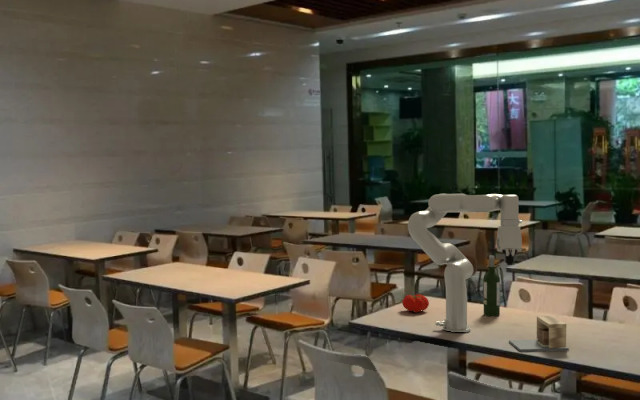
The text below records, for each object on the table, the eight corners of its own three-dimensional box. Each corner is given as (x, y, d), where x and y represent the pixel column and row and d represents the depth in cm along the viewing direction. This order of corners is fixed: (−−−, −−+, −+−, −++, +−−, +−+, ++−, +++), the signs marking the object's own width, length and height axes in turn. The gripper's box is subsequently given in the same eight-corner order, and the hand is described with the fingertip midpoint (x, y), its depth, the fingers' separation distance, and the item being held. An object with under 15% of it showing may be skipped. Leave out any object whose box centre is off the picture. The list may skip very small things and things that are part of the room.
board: (520, 351, 271) (520, 342, 271) (508, 342, 286) (508, 333, 285) (568, 350, 272) (568, 341, 272) (554, 341, 286) (554, 332, 286)
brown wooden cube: (543, 345, 276) (543, 332, 275) (537, 341, 282) (537, 328, 282) (558, 344, 276) (558, 331, 276) (552, 340, 282) (552, 327, 282)
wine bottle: (482, 312, 342) (482, 254, 340) (498, 313, 341) (498, 254, 339) (484, 316, 334) (484, 256, 333) (500, 316, 333) (500, 257, 331)
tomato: (401, 314, 341) (401, 297, 341) (402, 309, 354) (402, 292, 353) (428, 315, 339) (428, 297, 339) (429, 309, 351) (429, 293, 351)
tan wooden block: (549, 347, 272) (549, 324, 271) (536, 338, 286) (536, 316, 285) (566, 347, 272) (566, 323, 271) (552, 338, 286) (552, 316, 286)
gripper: (523, 222, 296) (523, 263, 297) (490, 222, 295) (489, 263, 296) (529, 223, 288) (529, 265, 289) (495, 224, 288) (495, 266, 289)
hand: (509, 264), depth 293 cm, fingers closed
